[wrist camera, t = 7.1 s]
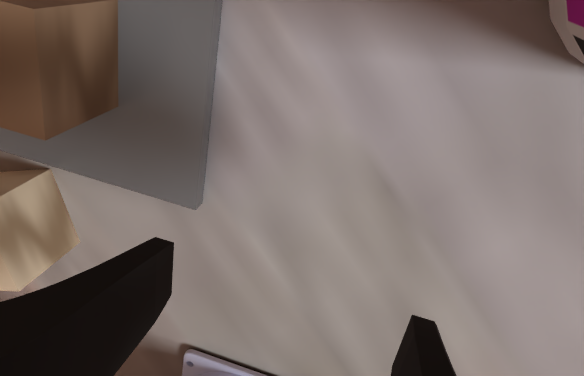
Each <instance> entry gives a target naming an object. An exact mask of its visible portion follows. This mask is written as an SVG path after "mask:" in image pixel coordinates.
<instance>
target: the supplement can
mask: <svg viewBox="0 0 584 376" xmlns="http://www.w3.org/2000/svg"><path fill="white" fill-rule="evenodd" d="M549 11H550V20H551V22H552V23H553V25H554V27H555V29H556V31H557V32H558V34H559V36H560V38H561V40H562V41H563V43H564V45H565V47H566V49H567V50H568V52H569V53H570V54H571V55H572V56H574V57H575V58H576V59H578V60H579V61H580V62H582V63H583V64H584V0H549Z"/></svg>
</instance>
